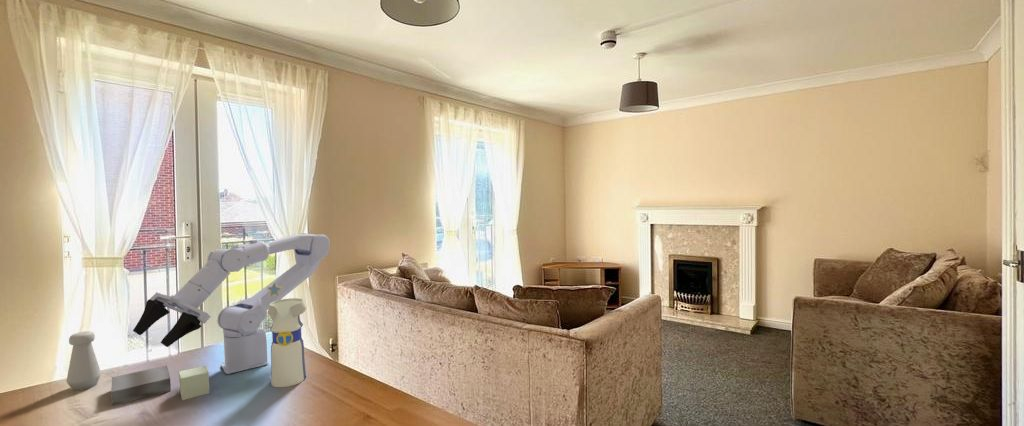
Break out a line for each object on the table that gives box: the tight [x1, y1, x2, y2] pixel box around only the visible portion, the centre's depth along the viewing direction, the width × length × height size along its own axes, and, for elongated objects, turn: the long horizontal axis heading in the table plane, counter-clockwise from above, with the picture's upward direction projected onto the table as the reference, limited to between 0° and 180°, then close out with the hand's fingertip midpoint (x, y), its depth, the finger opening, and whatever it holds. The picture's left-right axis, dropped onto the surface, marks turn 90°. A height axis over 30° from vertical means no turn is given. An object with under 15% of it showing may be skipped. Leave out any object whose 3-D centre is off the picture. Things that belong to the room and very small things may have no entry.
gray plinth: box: [110, 365, 172, 406], centre depth 100 cm, size 10×10×3 cm
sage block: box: [178, 365, 210, 401], centre depth 98 cm, size 5×5×5 cm
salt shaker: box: [66, 330, 102, 391], centre depth 102 cm, size 6×6×13 cm
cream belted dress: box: [267, 282, 308, 388], centre depth 104 cm, size 8×9×25 cm
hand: (150, 339), depth 95 cm, fingers open, 7 cm apart
